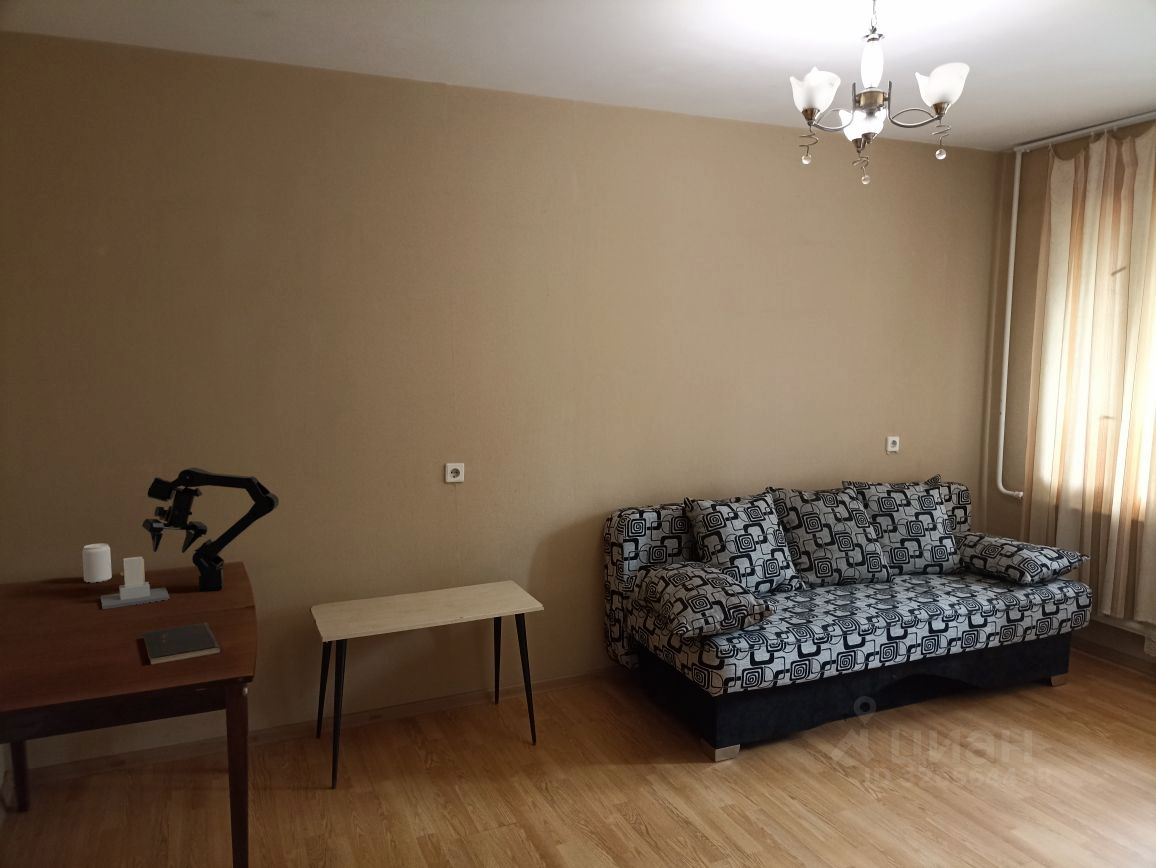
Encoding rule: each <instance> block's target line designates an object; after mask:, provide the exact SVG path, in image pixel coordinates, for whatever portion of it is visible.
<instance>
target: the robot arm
mask: <svg viewBox="0 0 1156 868" xmlns="http://www.w3.org/2000/svg"><path fill="white" fill-rule="evenodd" d="M206 486H212V487H222V488H232V489H233V488H234V489H242V490H243V489H245V491H246V492H247V493H248V495H249V497H250V498H251V500H252V501H253V502H254V503H253V505H252V506H251V507H250V508H249V510H248V512H247V513H245V515H243V516H242V517H240V519H238V520H237V521H236V522H235V523H234V524H233V525H232V526H230V527H229V528H228V529H227V530H226V531H224V533H222V534H221V535H220V536H218V537H217V538H216V539H215V540H213V541H212V539H211V538H208V539H207V540H205V542H203V543H202V544H201V545H200V546H199V547H197V548H196V549H194V553H193V555H192V559H191V560H192V564H194V566H196V567H197V569H198V571H199V573H200V574H199V576H198V588H199V592H211V590H215V591H222V590H223V589H224V588H225V586H226V585H225V582H224V568H223V566H224V565H225V562H226V561H225V560H224V559H223V558H222V557H221V556H220V555H221V553H222V552H223V551H224V550H225V548H226V547H227V546H228V545H229V544H230V543H232V542H233V541H234V540H235V539H236V538H237V537H239V536H240V535H241V534H242V533H243V532H245V531H246V530H247V529H248V528H250V526H252V525H253V524H254V523H255V522H256V521H257V520H259V519H262V518H263V517H265V516H267V515H268V514H270V513H271V512H272V511H274V510H275V509H277V508H278V506H279V504H280V500H279V497H278V496H277V495H276V494H275V493H272V492H271V491H270V490H269V489H268V488H267V487H266V486H264V485H263V484H262V483H261V482H260V481H259V479H257V478H256V477H255V476H252V475H250V476H246V475H245V476H244V475H235V474H234V475H233V474H226V473H225V474H224V473H214V472H210V471H208V470H205V469H202V468H198V467H188V468H185V469H183V470H181V471H180V472H179V473H178V475H177V478H175V479H174V480H172V481H171V480H167V479H164V478H162V477H157V476H156V477H154V479H153V482H152V483H151V484H150V486H149V488H148V490H147V497H148V498H150V499H152V500H153V499H155V500H157V501H161V502H165V503H168V502H169V501H172V500H173V501H172V504H171V505H169V506H168V509H165V507H164V506H155V510H154V515H153V516H154V517H158V518H145V520H143V523H142V525H141V527H142V528H143V529H145V530H146V531H148V532H149V534H150V536H151V544H152V551H153V553H156V552H157V551H158V550H159V549H158V548H159V546H160V544H161V540H162V538H163V535H164V534H163V533H162V532H163V530H174V531H175V530H176V531H185V537H184V541H183V544H182V548H181V553H183V554H185V552H186V551H187V550H188V549H189V548H190V547H191V546H192V545H193V543H194V542H196V541H197V540H198V539H199V538H202V537H203V536H206V535H207V533H208V530H209V529H208V526H207V525H206V524H205V523H203V522H202V521H195V520H191V521H189V517H190V516H192V514H193V511H191V510H192V507H193V504H194V503H193V502H194V501H195V498H196V497H198V498H199V497H201V496H203V492H202V491H201V490H200V488H199V487H206ZM181 487H184V488H181ZM161 521H164V522H161ZM188 521H189V522H188ZM224 585H225V586H224ZM222 588H223V589H222Z"/></svg>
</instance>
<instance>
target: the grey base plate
mask: <svg viewBox="0 0 1156 868" xmlns="http://www.w3.org/2000/svg"><path fill="white" fill-rule="evenodd" d="M150 586H151V584H149V581H145V585H142V586H134V587H126V588H125V584H122V585H121V584H120V585H119V586H118V589H119V592H118V593H113V594H107V595H106V594H105V595H101V596H100V601H101V603H102V604H101V603H100V604H101V607H102V610H106V609H107V610H108V609H114V608H120V607H129V605H130V606H136V604H137V605H143V603H144V604H149V602H151V603H156V602H155V601H158V602H162V601H161V600H165V601H169V600H168V599H171V598H170V594H169V593H168V590H167V588H166V587H165V586H164V587H159V588H151V587H150Z"/></svg>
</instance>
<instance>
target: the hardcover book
mask: <svg viewBox="0 0 1156 868" xmlns="http://www.w3.org/2000/svg"><path fill="white" fill-rule="evenodd" d="M142 637H143V641H144V645H145V648H146V653H147V656H148V660H149V661H150V664H151V665H156V664H162V663H167V662H173V661H180V660H184V659H189V658H196V657H201V656H209V655H214V654H221V653H222V647H221V645H220V643H219V642H218V640H217V638H216V636H215V634H214V632H213V631H212V629H211V627H210V625H209V623H208V622H200V623H195V624H194V623H193V624H187V625H181V626H174V627H168V628H161V629H154V630H149V631H148V630H147V631H143V632H142Z"/></svg>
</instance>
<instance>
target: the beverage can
mask: <svg viewBox="0 0 1156 868" xmlns="http://www.w3.org/2000/svg"><path fill="white" fill-rule="evenodd" d="M81 553H82V567H83V568H82V569H83V581H84V582H86V583H88V582H90V583H89V584H97V583H96V582H99V583H103V581H104V582H107V581H108V580H111V578H112V576H113V574H112V562H111V560H112V558H111V557H112V556H111V546H109V543H102V542H101V543H93V544H86V545H84V546H83V549H82V552H81Z"/></svg>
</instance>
